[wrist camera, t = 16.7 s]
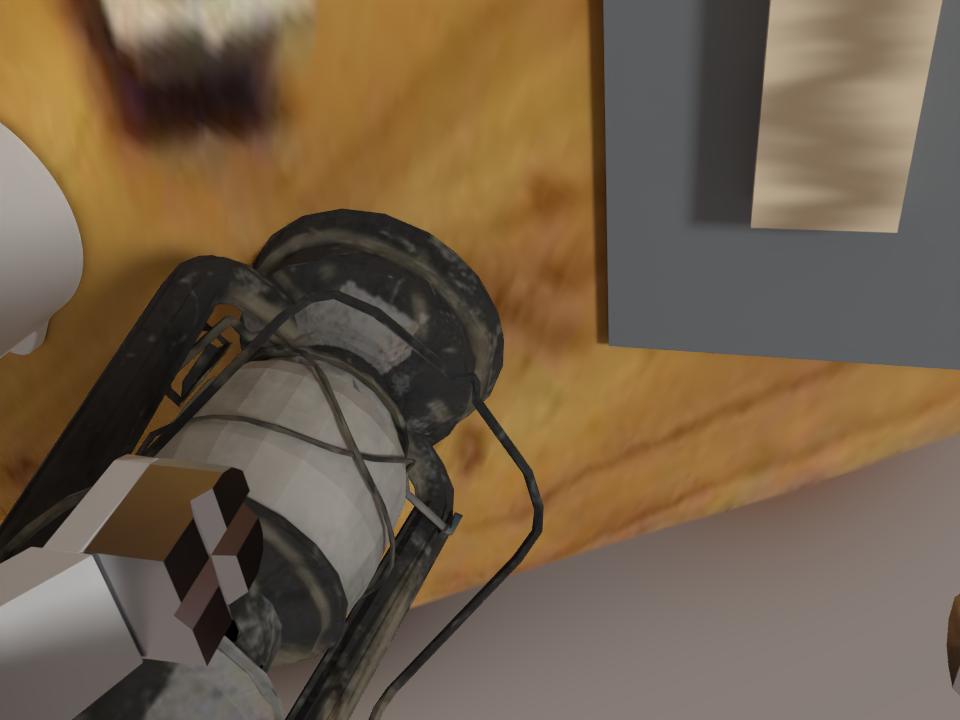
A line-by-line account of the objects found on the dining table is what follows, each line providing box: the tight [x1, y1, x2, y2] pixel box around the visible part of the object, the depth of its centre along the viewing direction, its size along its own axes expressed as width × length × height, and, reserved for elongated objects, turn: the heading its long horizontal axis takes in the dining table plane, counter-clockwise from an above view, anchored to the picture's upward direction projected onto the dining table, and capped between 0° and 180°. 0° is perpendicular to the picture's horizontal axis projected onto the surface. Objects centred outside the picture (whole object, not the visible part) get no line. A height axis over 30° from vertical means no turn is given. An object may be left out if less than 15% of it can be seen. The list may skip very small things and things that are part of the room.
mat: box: [603, 0, 960, 370], centre depth 37 cm, size 16×22×1 cm
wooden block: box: [751, 0, 942, 233], centre depth 34 cm, size 6×2×12 cm
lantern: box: [0, 209, 543, 720], centre depth 37 cm, size 19×19×30 cm
